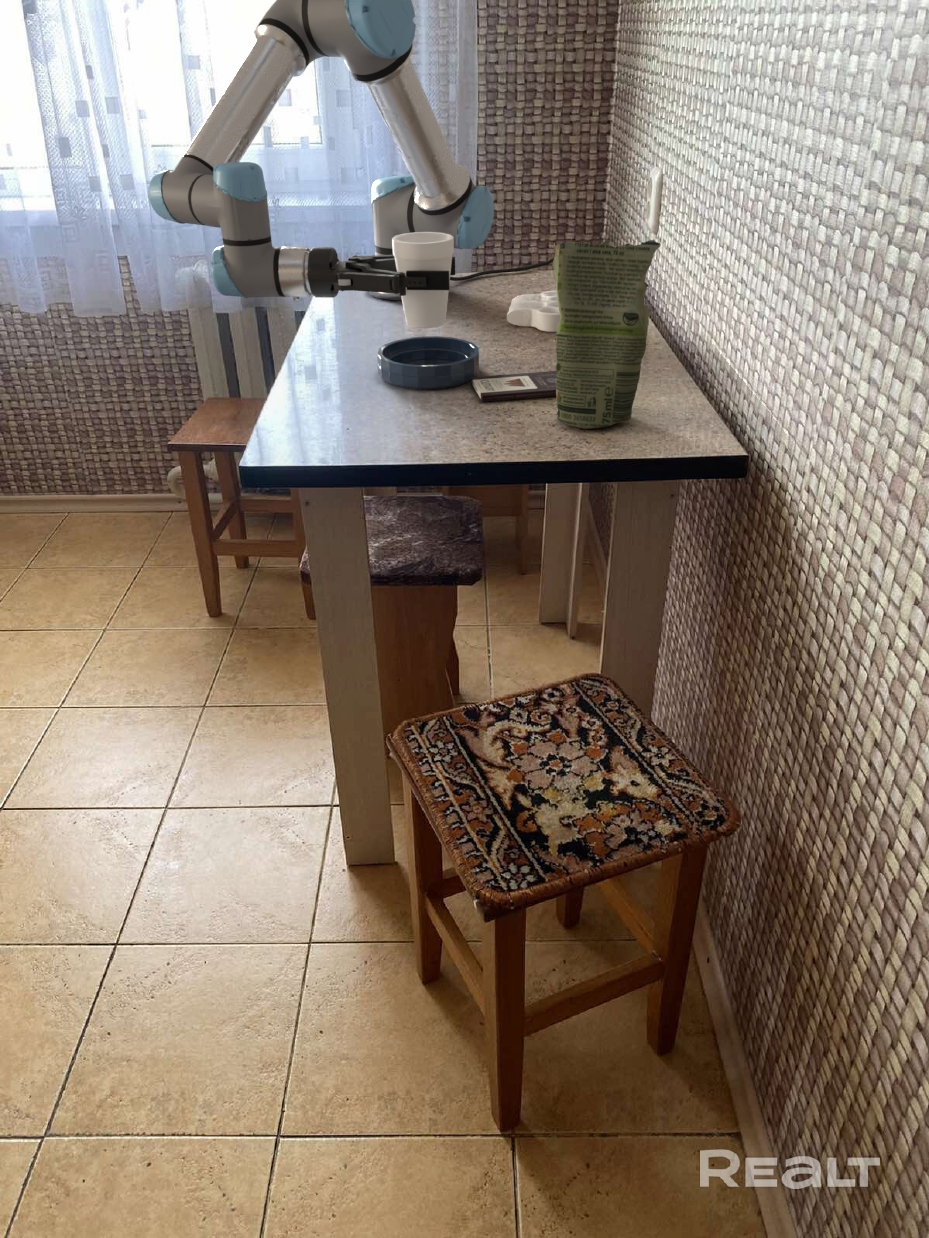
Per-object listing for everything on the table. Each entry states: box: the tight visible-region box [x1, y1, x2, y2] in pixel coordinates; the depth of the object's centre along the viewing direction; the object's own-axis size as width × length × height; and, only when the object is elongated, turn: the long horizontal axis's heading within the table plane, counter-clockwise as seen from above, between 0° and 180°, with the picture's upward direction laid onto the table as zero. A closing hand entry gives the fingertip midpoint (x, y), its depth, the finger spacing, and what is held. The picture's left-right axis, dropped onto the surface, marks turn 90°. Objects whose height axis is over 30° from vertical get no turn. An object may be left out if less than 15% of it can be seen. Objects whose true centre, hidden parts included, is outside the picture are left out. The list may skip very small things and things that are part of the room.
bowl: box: [376, 335, 480, 390], centre depth 155 cm, size 17×17×4 cm
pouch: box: [551, 237, 661, 430], centre depth 131 cm, size 11×12×25 cm
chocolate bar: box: [470, 370, 557, 403], centre depth 149 cm, size 9×1×18 cm
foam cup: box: [392, 232, 455, 329], centre depth 149 cm, size 10×9×13 cm
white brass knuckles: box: [506, 289, 560, 333], centre depth 183 cm, size 3×18×15 cm
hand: (452, 273), depth 148 cm, fingers closed on foam cup, 9 cm apart
